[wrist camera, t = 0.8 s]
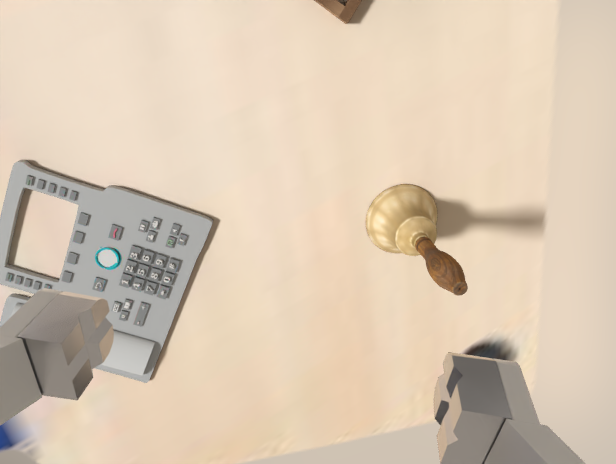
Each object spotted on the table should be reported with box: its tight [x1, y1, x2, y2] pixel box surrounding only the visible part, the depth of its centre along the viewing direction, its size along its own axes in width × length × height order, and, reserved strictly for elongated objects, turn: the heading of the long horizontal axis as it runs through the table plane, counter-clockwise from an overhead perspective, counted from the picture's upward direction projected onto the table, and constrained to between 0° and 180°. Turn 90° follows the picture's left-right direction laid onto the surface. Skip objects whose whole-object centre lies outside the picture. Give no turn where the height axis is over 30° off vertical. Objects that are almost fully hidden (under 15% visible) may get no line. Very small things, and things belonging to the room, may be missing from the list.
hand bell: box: [366, 184, 468, 295], centre depth 44 cm, size 8×8×16 cm
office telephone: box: [0, 160, 213, 383], centre depth 50 cm, size 23×3×20 cm
